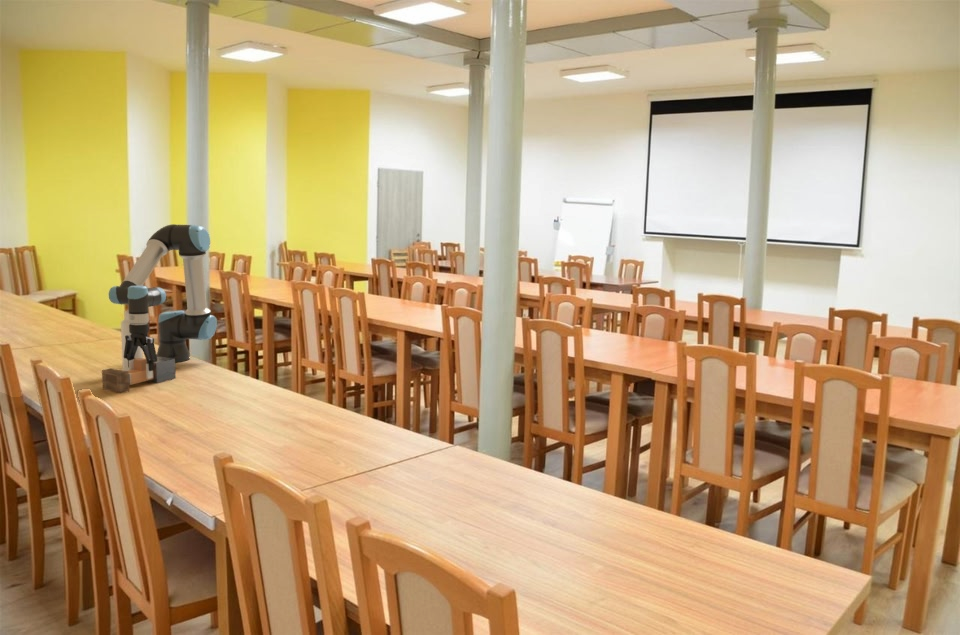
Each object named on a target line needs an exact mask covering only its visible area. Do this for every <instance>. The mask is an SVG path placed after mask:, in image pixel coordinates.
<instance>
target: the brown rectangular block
mask: <svg viewBox="0 0 960 635" xmlns="http://www.w3.org/2000/svg"><path fill="white" fill-rule="evenodd" d="M101 377H102V390H103V391H108V392H112V393H119V394H122V393H123V394H124V393H126V392H129V391H130V385H129V375H128V371H123V369H115V368H105V369H103V370H101Z"/></svg>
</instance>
